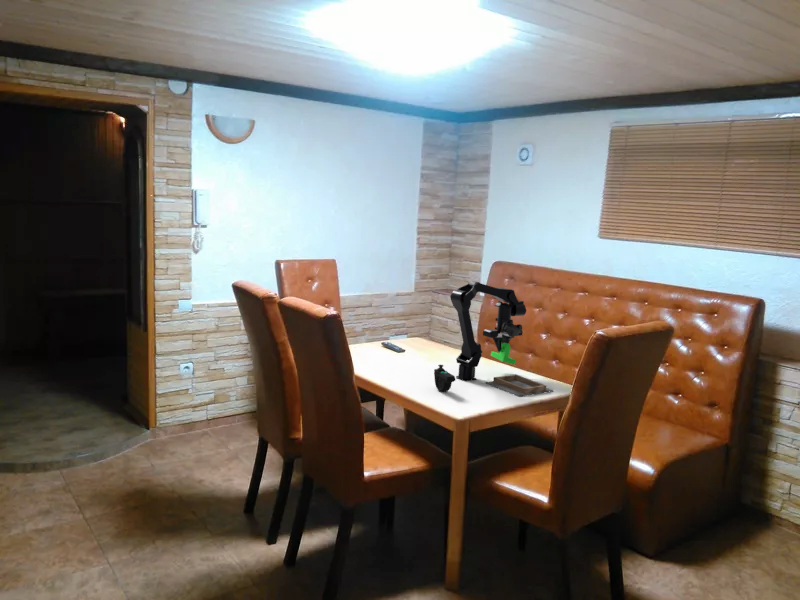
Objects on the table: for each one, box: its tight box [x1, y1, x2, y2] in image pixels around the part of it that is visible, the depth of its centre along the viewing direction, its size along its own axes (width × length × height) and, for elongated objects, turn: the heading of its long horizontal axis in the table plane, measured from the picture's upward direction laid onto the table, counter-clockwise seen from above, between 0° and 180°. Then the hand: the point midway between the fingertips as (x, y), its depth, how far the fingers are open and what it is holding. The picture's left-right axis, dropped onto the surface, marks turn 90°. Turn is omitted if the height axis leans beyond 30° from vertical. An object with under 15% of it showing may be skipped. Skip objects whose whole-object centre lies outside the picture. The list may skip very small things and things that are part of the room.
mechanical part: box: [490, 343, 516, 365], centre depth 275 cm, size 12×6×8 cm, turn 18°
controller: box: [433, 364, 456, 393], centre depth 244 cm, size 4×12×10 cm, turn 24°
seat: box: [485, 374, 554, 398], centre depth 257 cm, size 19×20×3 cm
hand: (501, 351), depth 275 cm, fingers closed on mechanical part, 2 cm apart
